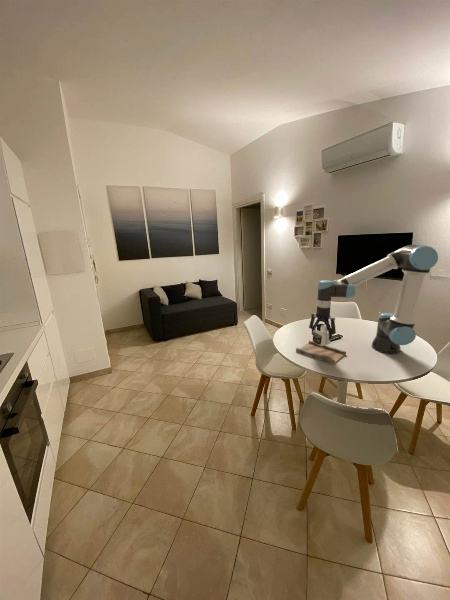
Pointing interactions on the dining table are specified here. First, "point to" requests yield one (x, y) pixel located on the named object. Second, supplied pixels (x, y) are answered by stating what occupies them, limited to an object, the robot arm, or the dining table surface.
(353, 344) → the dining table surface
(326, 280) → the robot arm
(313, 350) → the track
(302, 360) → the dining table surface
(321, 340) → the medicine bottle
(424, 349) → the dining table surface
